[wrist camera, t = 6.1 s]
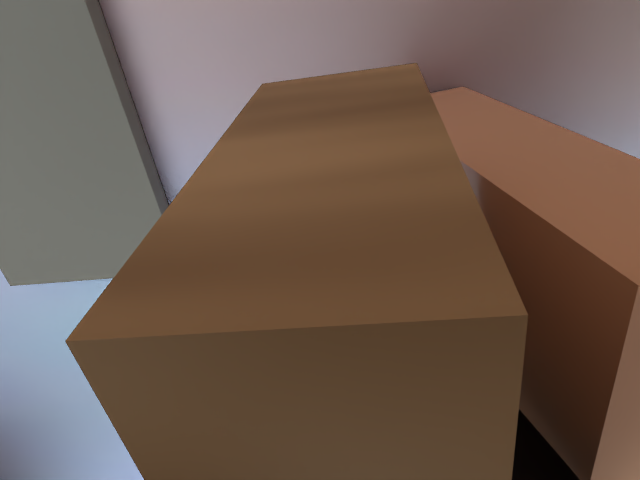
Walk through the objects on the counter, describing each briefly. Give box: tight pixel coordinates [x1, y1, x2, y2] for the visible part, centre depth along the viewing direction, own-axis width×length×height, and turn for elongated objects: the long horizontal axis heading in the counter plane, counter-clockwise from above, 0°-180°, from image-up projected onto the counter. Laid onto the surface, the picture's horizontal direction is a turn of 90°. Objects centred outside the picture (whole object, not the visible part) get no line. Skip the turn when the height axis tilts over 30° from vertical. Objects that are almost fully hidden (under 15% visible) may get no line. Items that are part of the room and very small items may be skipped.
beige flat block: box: [430, 87, 640, 480], centre depth 10 cm, size 7×2×8 cm, turn 8°
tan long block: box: [65, 63, 528, 480], centre depth 8 cm, size 10×2×6 cm, turn 9°
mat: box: [0, 0, 169, 286], centre depth 12 cm, size 12×6×1 cm, turn 8°
